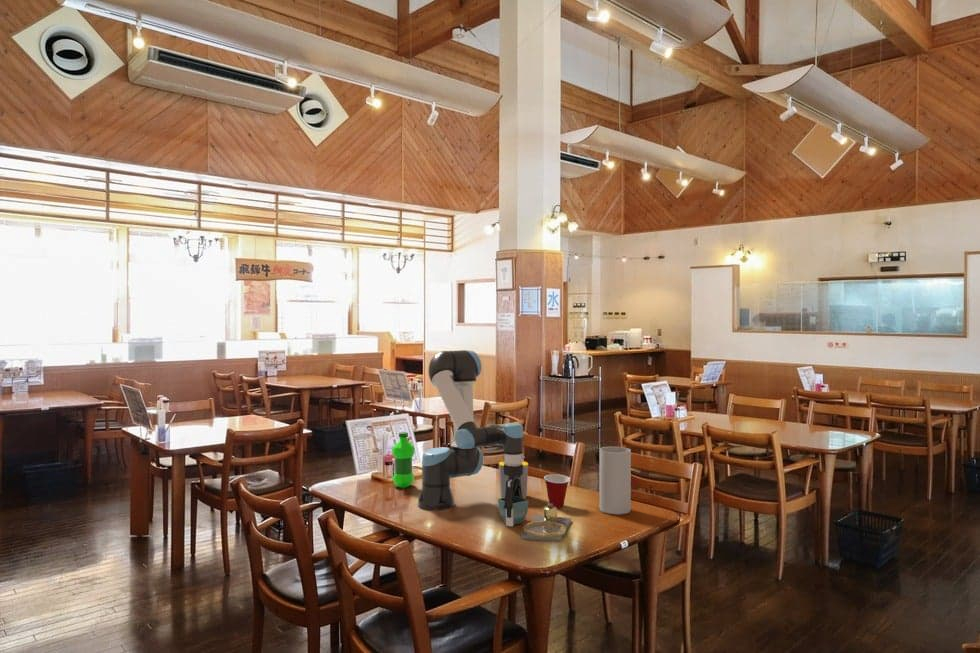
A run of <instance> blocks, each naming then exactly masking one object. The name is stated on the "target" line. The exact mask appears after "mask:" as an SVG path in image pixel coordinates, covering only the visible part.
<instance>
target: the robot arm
mask: <svg viewBox="0 0 980 653" xmlns="http://www.w3.org/2000/svg"><path fill="white" fill-rule="evenodd" d="M427 371H428V377H429V381H430V382H431V385H433V386H434V387H435V388H436V390H437V391H438V393H439V396H440V397H441V400H442V402H443V404H444V406H445V408H446V410H447V412H448V414H449V416H450V418H451V420H452V423H453V441H452V442H451V444H450V448H449V447H445V446H444V447H443V446H441V447H433V448H429V449H427V450H426V451H425V452H423V453H422V460H421V466H422V467H421V472H422V473H421V475H422V476H421V478H422V480H421V482H422V483H421V485H422V486H421V490H420V493H419V496H418V499H417V503H418V504H417V506H418V507H419V508H420V509H424V510H429V511H430V510H431V511H433V510H434V511H440V510H441V511H442V510H446V509H451V508H453V507H454V506H455V498H454V495H453V492H452V488H451V479H455V478H461V477H470V476H473V475H476V474H478V473H479V472H480V471H481V470H482V467H483V463H484V455H483V451H482V450H481V448H483V447H492V446H501V447H503V461H504V474H505V475H507V476H509V478H508V480H507V481H506V492H505V504H504V509H506V522H505V526H507V527H514V525H513V500H514V496H517V497H520V498H523V497H522V489H521V475H522V474H523V465H522V463H523V461H524V459H525V456H524V427H523V424H521V423H520V422H519V423H518V422H516V423H515V422H507V423H504V425H499V424H493V423H491V424H489V425H487V426H482V427H481V426H480V427H478V426H477V425H476V422H475V420H474V384H475V383H476V382H477V377H479V376H480V375H481V372H482V361H481V358H480V356H479V355H478V354H477V353H476V352H475V351H473V350H467V349H466V350H465V349H463V350H442V351H440V352H437V353H436V354H434V355H433V357H432V358H431V359H430V362H429V364H428V369H427Z"/></svg>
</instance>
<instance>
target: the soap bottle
mask: <svg viewBox="0 0 980 653" xmlns="http://www.w3.org/2000/svg"><path fill="white" fill-rule="evenodd" d="M522 465H523V474H522V475H521V489H522V497H523V498H524V499H526V498H527V496H528V495H527V491H528V475H529V473H528V472H529V463H528V462H527V461H524V460H523V463H522ZM498 471H499V472H498V474H499V493H500V498H505V492H506V481H507V480H508V478H509V476H507V475H505V474H504V460H503V461H500V462H498Z"/></svg>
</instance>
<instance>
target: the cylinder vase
mask: <svg viewBox="0 0 980 653" xmlns="http://www.w3.org/2000/svg"><path fill="white" fill-rule="evenodd" d="M631 450H632V449H630V448H629V447H628V448H627V447H622V446H603V447H599V490H598V492H599V494H598V495H599V500H598V501H599V508H598V509H599V511H600V512H602V513H605V514H609V515H613V516H614V515H618V516H619V515H626V514H629V513H630V512H631V507H632V506H631V504H632V503H631V498H632V497H631V496H632V494H631V490H632V489H631V488H632V487H631V486H632V485H631V483H632V478H631V477H632V474H631V473H632V472H631V468H632V467H631V464H632V462H631V461H632V460H631V457H632V454H631V452H632V451H631Z"/></svg>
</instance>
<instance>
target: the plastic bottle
mask: <svg viewBox="0 0 980 653" xmlns="http://www.w3.org/2000/svg"><path fill="white" fill-rule="evenodd" d="M408 437H409V432H406V431H405V432H404V431H401V432H399V433H398V438H399V440H398V441H397V443H395V444H394V445H393V446H392V449H391V453H392V456H393V457H394V474H393V476H392V482H393V483H394V485H396V486H397V487H398V488H401V489H404V488H409V486H411V484H413V482H414V480H415V476H414V473H413V456H414V455H415V452H416V451H415V446H414V445H413V444H412V443H411V442H410V441H409V440H408Z"/></svg>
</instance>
